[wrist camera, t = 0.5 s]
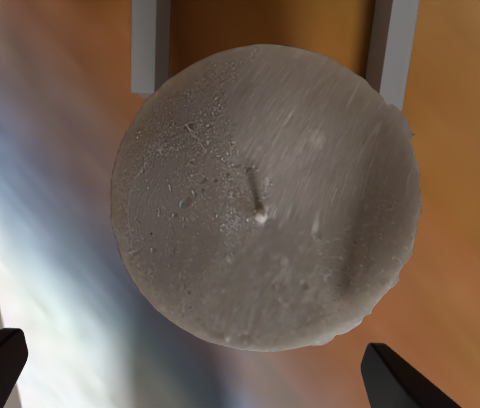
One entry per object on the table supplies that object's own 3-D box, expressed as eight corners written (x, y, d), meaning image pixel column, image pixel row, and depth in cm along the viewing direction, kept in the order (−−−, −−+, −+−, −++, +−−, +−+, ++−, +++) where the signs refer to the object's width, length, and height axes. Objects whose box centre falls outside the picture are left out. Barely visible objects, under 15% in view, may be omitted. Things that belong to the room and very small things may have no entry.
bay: (381, 116, 21) (401, 110, 18) (147, 100, 22) (130, 92, 19) (408, -66, 19) (436, -105, 16) (151, -78, 20) (133, -119, 17)
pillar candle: (166, 170, 23) (5, 207, 8) (263, 79, 21) (289, -83, 6) (250, 261, 24) (246, 446, 9) (348, 181, 22) (537, 243, 7)
